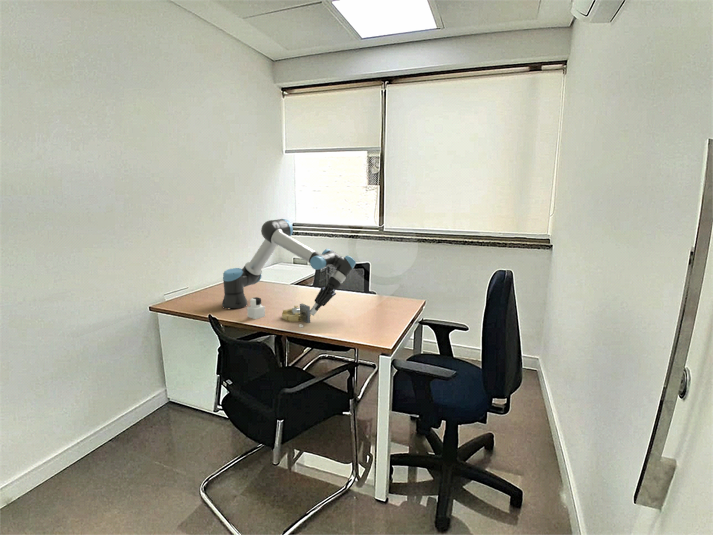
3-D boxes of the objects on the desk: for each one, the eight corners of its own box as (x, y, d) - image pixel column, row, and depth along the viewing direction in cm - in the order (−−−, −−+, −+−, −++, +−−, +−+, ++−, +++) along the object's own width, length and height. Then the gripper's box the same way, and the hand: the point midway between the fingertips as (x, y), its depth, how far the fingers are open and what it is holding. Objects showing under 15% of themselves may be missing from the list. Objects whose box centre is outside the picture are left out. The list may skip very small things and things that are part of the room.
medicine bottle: (257, 315, 219) (256, 295, 217) (265, 318, 215) (264, 298, 212) (247, 318, 214) (246, 298, 211) (255, 321, 209) (253, 300, 207)
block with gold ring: (278, 316, 213) (277, 301, 212) (300, 311, 223) (300, 296, 221) (297, 325, 199) (296, 309, 197) (320, 319, 208) (320, 304, 207)
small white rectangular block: (298, 327, 200) (298, 324, 200) (302, 326, 201) (302, 324, 200) (299, 329, 196) (299, 326, 196) (303, 329, 197) (303, 326, 197)
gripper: (346, 286, 207) (321, 321, 201) (333, 281, 218) (309, 314, 212) (338, 278, 203) (312, 313, 197) (325, 274, 214) (300, 307, 208)
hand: (311, 314), depth 205 cm, fingers closed
